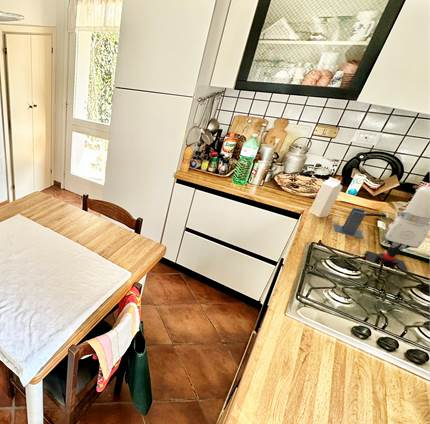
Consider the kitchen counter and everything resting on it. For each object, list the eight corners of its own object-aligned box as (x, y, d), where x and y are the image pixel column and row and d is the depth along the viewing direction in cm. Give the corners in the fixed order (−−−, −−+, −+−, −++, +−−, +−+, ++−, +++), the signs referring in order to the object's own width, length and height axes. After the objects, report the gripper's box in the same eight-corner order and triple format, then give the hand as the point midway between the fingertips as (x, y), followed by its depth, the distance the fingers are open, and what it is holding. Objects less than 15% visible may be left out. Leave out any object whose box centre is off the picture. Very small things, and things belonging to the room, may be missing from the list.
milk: (317, 218, 166) (336, 181, 155) (307, 213, 171) (325, 177, 160) (327, 217, 167) (346, 180, 156) (316, 212, 172) (334, 176, 162)
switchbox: (400, 264, 132) (406, 257, 130) (405, 276, 125) (411, 269, 123) (363, 254, 138) (368, 247, 136) (366, 265, 131) (371, 257, 129)
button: (393, 258, 130) (395, 254, 129) (394, 262, 127) (397, 258, 126) (381, 254, 132) (383, 251, 131) (383, 258, 129) (385, 255, 128)
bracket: (360, 232, 154) (373, 210, 148) (362, 240, 148) (376, 217, 141) (332, 225, 160) (344, 204, 154) (333, 232, 153) (345, 210, 147)
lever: (388, 216, 144) (389, 211, 143) (390, 220, 140) (391, 215, 140) (352, 213, 151) (353, 209, 151) (353, 217, 148) (354, 213, 147)
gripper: (391, 215, 121) (368, 252, 130) (446, 227, 113) (418, 266, 122) (388, 208, 126) (366, 244, 135) (441, 219, 118) (414, 257, 127)
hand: (390, 255), depth 129 cm, fingers closed
